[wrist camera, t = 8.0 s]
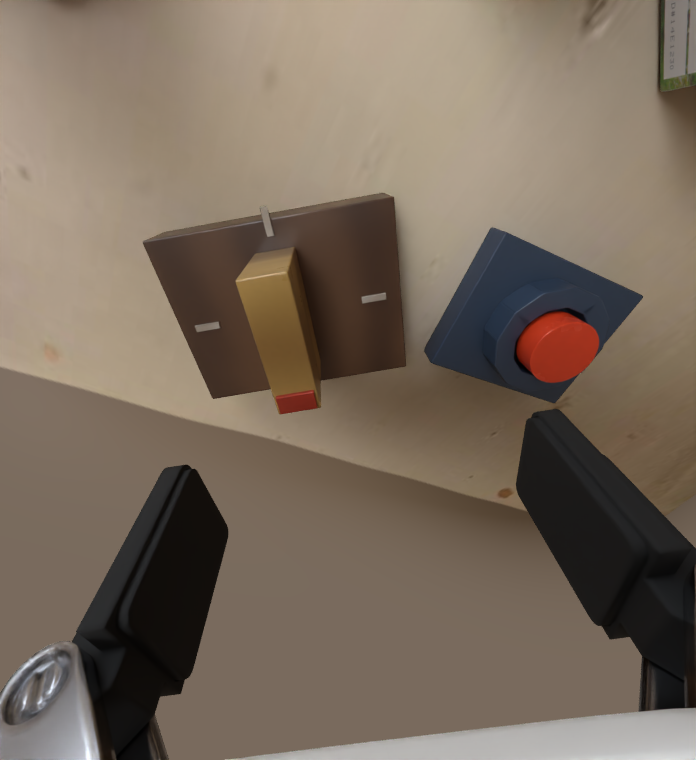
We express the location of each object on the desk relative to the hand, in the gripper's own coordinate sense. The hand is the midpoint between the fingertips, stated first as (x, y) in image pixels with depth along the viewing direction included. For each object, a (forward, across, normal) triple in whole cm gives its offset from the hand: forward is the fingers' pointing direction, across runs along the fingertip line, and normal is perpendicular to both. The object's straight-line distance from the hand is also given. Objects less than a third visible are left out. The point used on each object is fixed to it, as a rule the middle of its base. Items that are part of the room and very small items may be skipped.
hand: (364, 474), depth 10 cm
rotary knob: (+12, +3, -1) cm, 13 cm away
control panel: (+15, +3, -1) cm, 16 cm away
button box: (+16, -12, +4) cm, 20 cm away
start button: (+12, -12, +4) cm, 18 cm away
